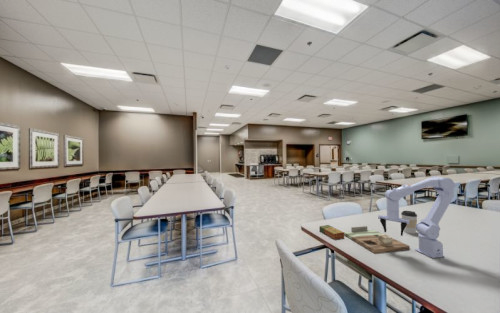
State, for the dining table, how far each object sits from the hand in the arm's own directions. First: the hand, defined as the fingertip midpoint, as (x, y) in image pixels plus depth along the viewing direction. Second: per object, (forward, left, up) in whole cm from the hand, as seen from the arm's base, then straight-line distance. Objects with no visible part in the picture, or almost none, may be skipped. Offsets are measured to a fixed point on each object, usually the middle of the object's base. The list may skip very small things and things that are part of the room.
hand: (393, 233), depth 109 cm
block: (+3, +3, -8) cm, 9 cm away
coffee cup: (+21, -35, -10) cm, 42 cm away
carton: (+28, +23, -10) cm, 37 cm away
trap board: (+12, +3, -10) cm, 15 cm away
